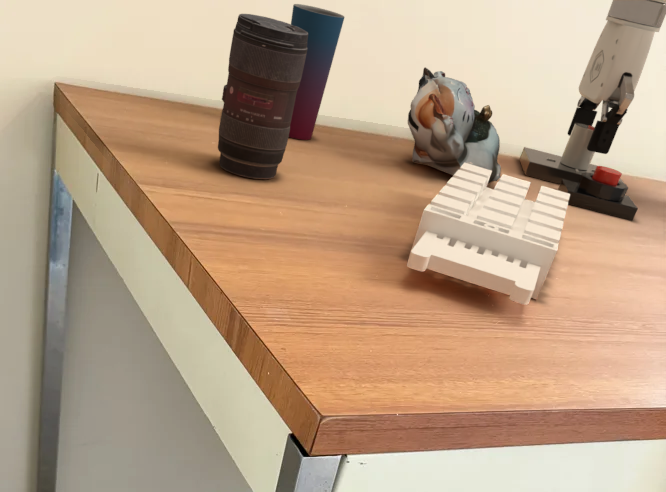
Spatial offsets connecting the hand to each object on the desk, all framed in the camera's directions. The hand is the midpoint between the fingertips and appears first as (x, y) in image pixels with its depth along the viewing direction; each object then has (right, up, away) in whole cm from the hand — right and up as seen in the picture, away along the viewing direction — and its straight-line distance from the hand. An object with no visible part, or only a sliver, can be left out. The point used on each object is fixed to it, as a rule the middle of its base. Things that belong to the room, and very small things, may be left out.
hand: (586, 144), depth 126 cm
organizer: (-26, -30, -38) cm, 55 cm away
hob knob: (-1, -2, +2) cm, 3 cm away
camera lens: (-52, -18, -30) cm, 62 cm away
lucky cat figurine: (-24, -9, -10) cm, 27 cm away
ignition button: (-1, -10, -10) cm, 14 cm away
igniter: (-2, -13, -8) cm, 15 cm away
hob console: (-2, -4, +3) cm, 5 cm away
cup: (-45, -4, -10) cm, 47 cm away
